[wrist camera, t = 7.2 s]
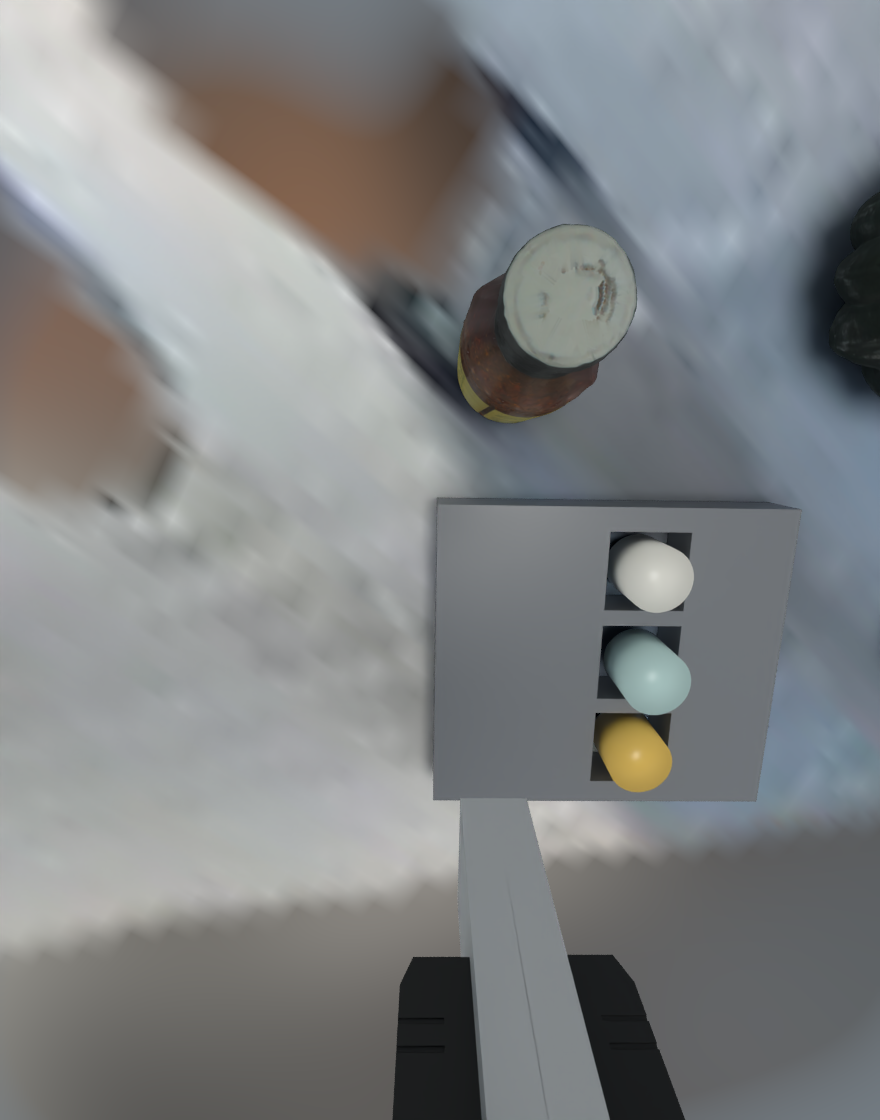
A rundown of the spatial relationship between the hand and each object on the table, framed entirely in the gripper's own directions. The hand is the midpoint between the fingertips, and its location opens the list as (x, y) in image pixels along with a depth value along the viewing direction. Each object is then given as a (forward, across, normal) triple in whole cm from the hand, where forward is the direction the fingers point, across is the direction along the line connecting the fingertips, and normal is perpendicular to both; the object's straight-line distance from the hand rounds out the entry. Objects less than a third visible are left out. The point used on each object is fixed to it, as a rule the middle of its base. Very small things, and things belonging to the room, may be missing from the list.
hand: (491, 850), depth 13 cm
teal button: (+24, +12, -5) cm, 27 cm away
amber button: (+25, +12, -11) cm, 30 cm away
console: (+26, +10, -5) cm, 29 cm away
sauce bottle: (+27, +3, +13) cm, 30 cm away
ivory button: (+25, +12, +1) cm, 28 cm away
